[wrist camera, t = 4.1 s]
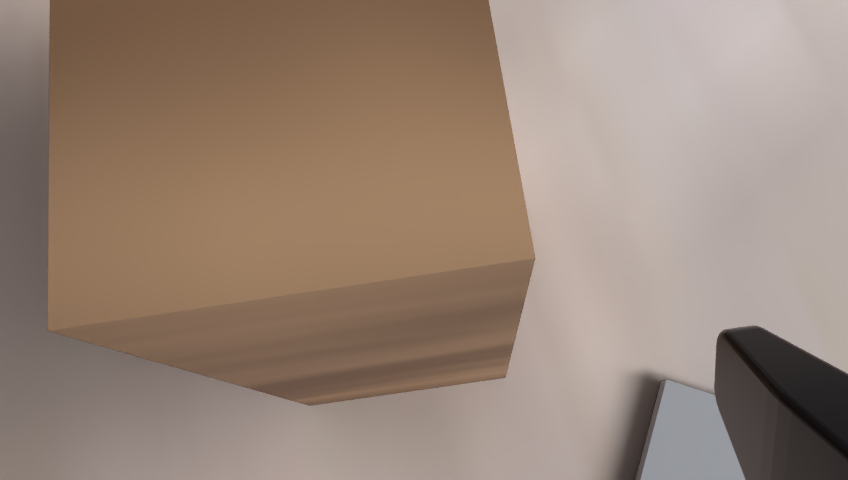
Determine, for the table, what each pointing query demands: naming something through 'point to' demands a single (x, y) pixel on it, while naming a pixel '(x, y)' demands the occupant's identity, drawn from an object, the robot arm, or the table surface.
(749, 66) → the table surface
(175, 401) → the table surface
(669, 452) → the coaster
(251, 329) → the walnut block
